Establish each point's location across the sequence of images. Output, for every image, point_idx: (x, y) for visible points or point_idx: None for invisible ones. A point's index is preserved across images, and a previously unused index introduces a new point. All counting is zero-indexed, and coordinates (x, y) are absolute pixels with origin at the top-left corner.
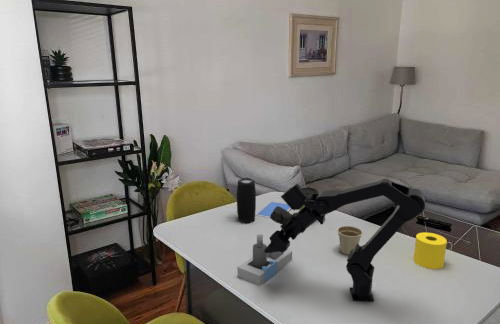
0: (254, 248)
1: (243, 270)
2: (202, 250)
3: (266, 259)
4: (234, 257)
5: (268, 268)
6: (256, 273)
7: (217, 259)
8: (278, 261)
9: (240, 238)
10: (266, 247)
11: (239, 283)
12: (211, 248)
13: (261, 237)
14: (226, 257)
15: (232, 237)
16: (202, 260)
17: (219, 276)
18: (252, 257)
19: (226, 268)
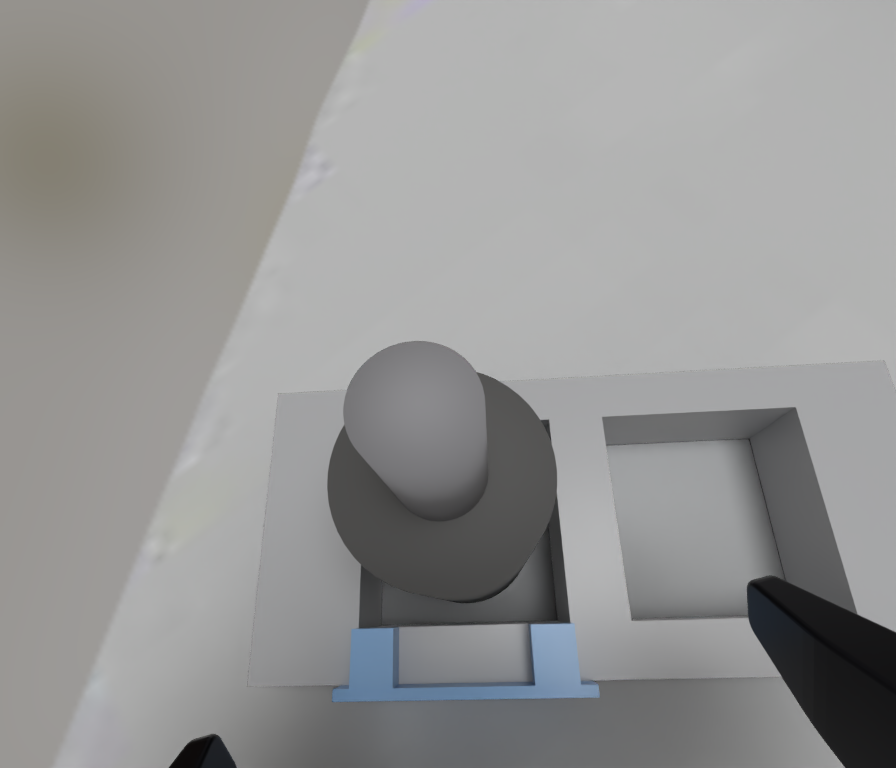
0: (334, 449)
1: (275, 465)
2: (450, 48)
3: (487, 594)
4: (521, 234)
5: (398, 699)
6: (269, 622)
7: (419, 175)
8: (644, 677)
9: (781, 89)
10: (480, 587)
11: (229, 503)
12: (510, 63)
13: (390, 475)
14: (482, 197)
15: (742, 49)
16: (349, 125)
17: (239, 326)
18: (511, 386)
19: (356, 292)
